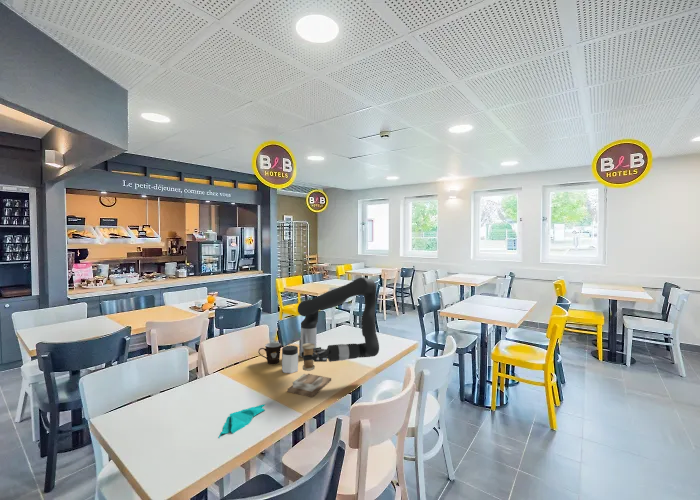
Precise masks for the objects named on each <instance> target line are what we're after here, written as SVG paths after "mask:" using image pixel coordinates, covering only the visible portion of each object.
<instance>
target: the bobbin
mask: <svg viewBox="0 0 700 500" xmlns="http://www.w3.org/2000/svg"><path fill="white" fill-rule="evenodd" d="M314 347H315V345H314V344H312V343H306V344H303V345H302V348H303V349H304V355H312V354H313V348H314ZM315 367H316V366H315V364H314V360H305V361H304V360H303V365H302V370H303V371H305V372H306V371H307V372H309V371H314V370H315Z"/></svg>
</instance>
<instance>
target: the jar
mask: <svg viewBox="0 0 700 500" xmlns="http://www.w3.org/2000/svg"><path fill="white" fill-rule="evenodd" d="M281 348H282V349H281V369H282V373H285V374H293V373H296V372H298V371H299V346H296V345H291V344H290V345H286V346H285V345H284V346H283V347H281Z"/></svg>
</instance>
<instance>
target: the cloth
mask: <svg viewBox="0 0 700 500" xmlns="http://www.w3.org/2000/svg"><path fill="white" fill-rule="evenodd" d="M265 406H266V404H259V405H256V406H252V407H248V408H244V409H242V410H238V411H235V412H231V413H230V414H229V415H228V416H227V418H226V420H225V422H224V424H223V427H222V429H221V431H220V434H219V436H218V439H220V437H221V436H222V435H224V434H225V435H226V434H229V433H231V434H235V433H236V432H238V431H239V430H240V431H241V430H242V429H243V428H245V427H246V426H249V424H251V422H252V420H253V418H254V417H255V416H257V415H259V414H260V413H262V412H264V411H265V409H264V407H265Z"/></svg>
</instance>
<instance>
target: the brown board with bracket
mask: <svg viewBox="0 0 700 500" xmlns="http://www.w3.org/2000/svg"><path fill="white" fill-rule="evenodd" d="M331 381H332V377H328V376H323V375H317V374H313V373H312V374H311V373H307V374H305V373H303V374H302V375H301V376H299V377H298V378H296V379H295V380H294V381H292V385H291V386H290V387H288V388H287V390H286V391H287V393H292V394H296V395H301V396H305V397H309V398H313V397H315V396H316V395H317V394H318V393H319V392H320V391H321V390H322V389H324V388H325V387H326V386H327V385H328V384H329V383H330V382H331Z"/></svg>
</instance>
